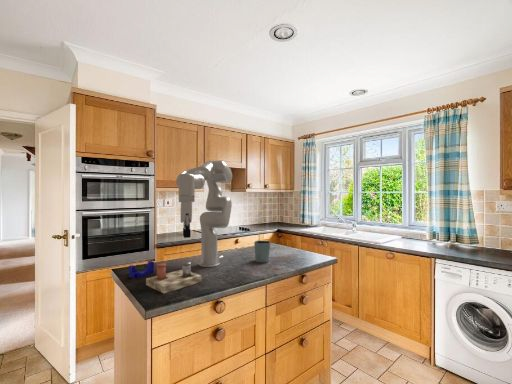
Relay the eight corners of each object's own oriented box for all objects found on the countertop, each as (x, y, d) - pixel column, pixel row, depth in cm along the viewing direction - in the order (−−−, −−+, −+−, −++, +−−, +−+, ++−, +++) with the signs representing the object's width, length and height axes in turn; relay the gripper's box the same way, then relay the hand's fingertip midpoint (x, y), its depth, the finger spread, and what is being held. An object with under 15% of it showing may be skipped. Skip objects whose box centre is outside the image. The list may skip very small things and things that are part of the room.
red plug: (163, 275, 131) (163, 262, 131) (168, 277, 128) (168, 264, 128) (154, 278, 128) (154, 264, 128) (159, 280, 125) (159, 266, 125)
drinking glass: (251, 260, 172) (251, 241, 172) (262, 257, 179) (262, 239, 178) (261, 263, 164) (262, 244, 164) (273, 260, 171) (273, 241, 171)
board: (182, 274, 142) (182, 269, 142) (201, 281, 132) (201, 275, 132) (146, 284, 127) (146, 278, 127) (163, 293, 117) (163, 286, 117)
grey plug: (187, 273, 135) (187, 260, 135) (193, 275, 132) (193, 262, 132) (179, 275, 131) (179, 262, 131) (185, 277, 128) (185, 264, 128)
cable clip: (133, 279, 136) (133, 267, 136) (129, 277, 139) (129, 265, 139) (155, 273, 145) (155, 262, 145) (150, 271, 148) (150, 261, 148)
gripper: (178, 198, 138) (178, 234, 138) (179, 199, 122) (179, 240, 122) (193, 198, 140) (193, 233, 140) (196, 199, 124) (196, 239, 124)
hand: (186, 236), depth 131 cm, fingers open, 4 cm apart
